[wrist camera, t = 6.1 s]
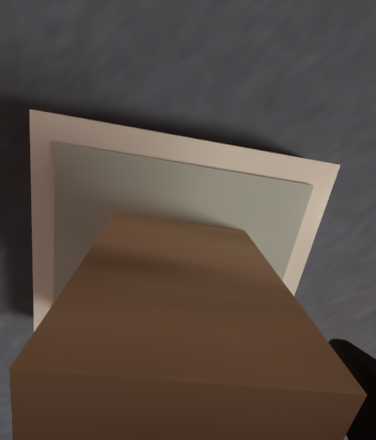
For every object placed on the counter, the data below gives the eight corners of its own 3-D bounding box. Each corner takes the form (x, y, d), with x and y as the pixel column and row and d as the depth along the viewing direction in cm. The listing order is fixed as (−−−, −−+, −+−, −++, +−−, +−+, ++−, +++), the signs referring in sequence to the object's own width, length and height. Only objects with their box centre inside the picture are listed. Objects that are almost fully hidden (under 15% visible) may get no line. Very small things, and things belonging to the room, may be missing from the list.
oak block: (218, 332, 11) (273, 569, 5) (105, 321, 10) (20, 571, 4) (245, 230, 9) (367, 394, 3) (115, 211, 9) (9, 368, 3)
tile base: (247, 341, 14) (264, 386, 12) (59, 324, 13) (32, 370, 11) (304, 157, 11) (344, 165, 9) (62, 114, 10) (25, 108, 7)
